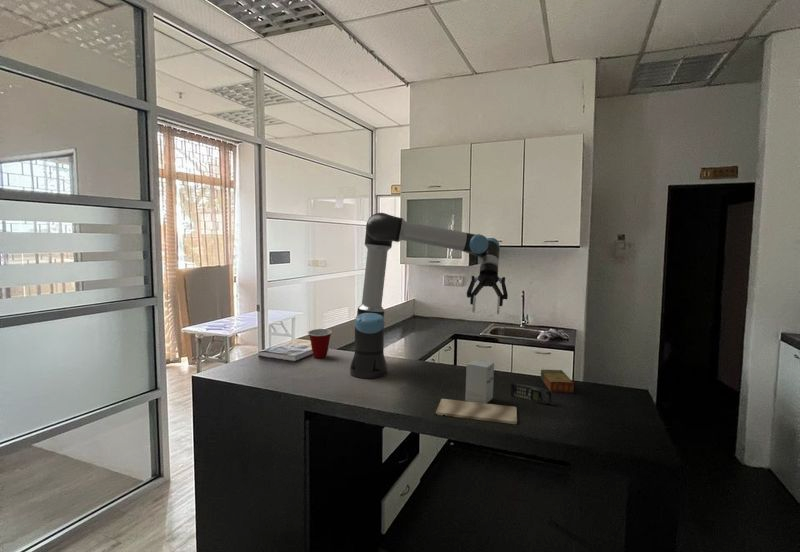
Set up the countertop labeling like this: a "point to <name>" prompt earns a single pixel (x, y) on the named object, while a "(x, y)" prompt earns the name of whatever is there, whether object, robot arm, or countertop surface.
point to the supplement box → (479, 381)
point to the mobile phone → (531, 393)
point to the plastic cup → (320, 342)
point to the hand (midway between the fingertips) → (485, 311)
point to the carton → (557, 381)
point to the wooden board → (477, 411)
